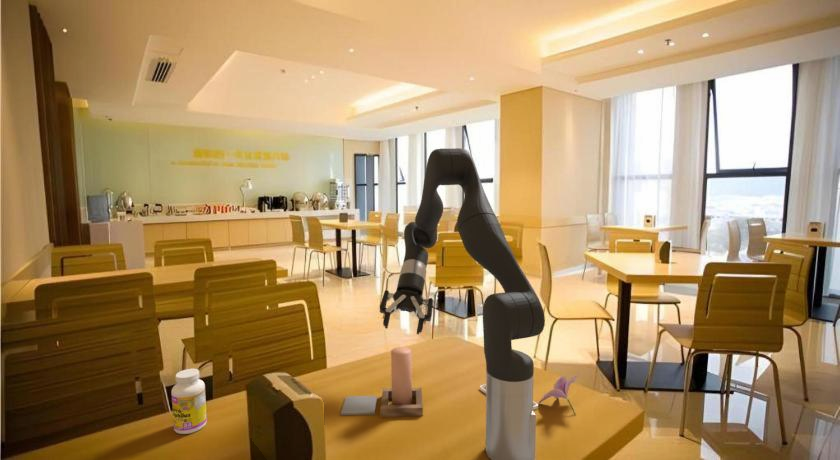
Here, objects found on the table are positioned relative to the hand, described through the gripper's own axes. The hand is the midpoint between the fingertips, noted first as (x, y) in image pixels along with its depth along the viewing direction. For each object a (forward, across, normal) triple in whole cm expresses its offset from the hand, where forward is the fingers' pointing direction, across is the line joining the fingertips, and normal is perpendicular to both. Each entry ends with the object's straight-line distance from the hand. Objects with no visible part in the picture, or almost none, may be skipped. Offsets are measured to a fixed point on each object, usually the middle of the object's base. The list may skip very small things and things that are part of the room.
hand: (402, 330), depth 111 cm
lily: (+12, +42, +1) cm, 44 cm away
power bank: (+11, +30, +6) cm, 32 cm away
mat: (+19, -7, +6) cm, 21 cm away
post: (+17, +3, +5) cm, 18 cm away
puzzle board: (+17, +3, +5) cm, 18 cm away
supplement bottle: (+31, -43, +3) cm, 53 cm away
